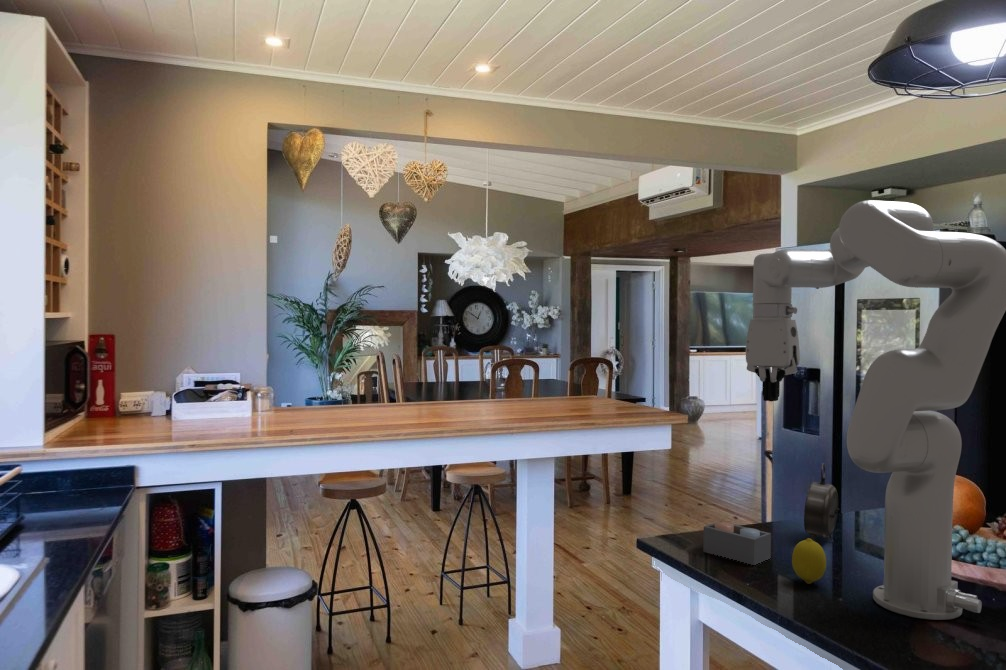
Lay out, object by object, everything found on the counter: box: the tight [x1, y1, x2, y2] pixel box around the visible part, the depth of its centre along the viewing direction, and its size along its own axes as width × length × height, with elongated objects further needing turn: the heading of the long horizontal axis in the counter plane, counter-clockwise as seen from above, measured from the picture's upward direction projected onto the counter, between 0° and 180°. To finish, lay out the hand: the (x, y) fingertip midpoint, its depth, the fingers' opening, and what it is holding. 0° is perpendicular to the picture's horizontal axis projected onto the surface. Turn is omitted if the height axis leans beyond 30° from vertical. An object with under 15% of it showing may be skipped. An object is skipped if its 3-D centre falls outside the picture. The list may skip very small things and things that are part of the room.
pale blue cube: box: [740, 527, 761, 538], centre depth 141 cm, size 4×4×4 cm
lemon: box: [791, 537, 827, 585], centre depth 128 cm, size 6×6×8 cm
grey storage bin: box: [703, 520, 772, 566], centre depth 143 cm, size 11×6×5 cm, turn 41°
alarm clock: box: [803, 462, 840, 543], centre depth 152 cm, size 11×5×16 cm, turn 144°
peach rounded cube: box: [715, 521, 735, 533], centre depth 145 cm, size 4×4×4 cm
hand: (770, 400), depth 153 cm, fingers closed
